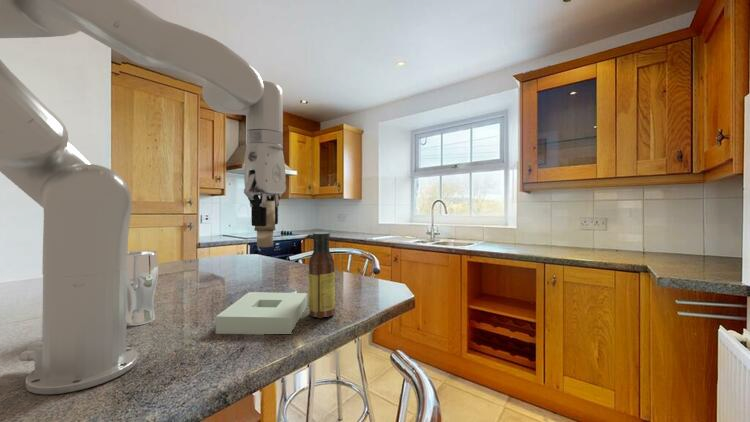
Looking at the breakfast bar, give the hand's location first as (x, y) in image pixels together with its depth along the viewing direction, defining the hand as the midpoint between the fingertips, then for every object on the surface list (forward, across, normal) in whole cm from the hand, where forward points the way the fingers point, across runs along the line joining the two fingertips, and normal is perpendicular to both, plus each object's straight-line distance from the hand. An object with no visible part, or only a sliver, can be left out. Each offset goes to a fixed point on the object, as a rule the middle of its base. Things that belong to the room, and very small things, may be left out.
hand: (265, 224), depth 70 cm
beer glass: (+22, -7, +26) cm, 35 cm away
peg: (+5, 0, 0) cm, 5 cm away
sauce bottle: (+22, +8, -10) cm, 26 cm away
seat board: (+22, +2, +1) cm, 22 cm away
